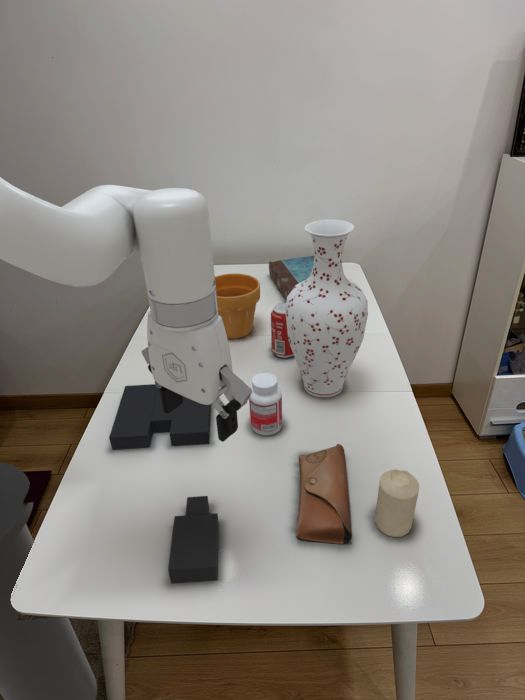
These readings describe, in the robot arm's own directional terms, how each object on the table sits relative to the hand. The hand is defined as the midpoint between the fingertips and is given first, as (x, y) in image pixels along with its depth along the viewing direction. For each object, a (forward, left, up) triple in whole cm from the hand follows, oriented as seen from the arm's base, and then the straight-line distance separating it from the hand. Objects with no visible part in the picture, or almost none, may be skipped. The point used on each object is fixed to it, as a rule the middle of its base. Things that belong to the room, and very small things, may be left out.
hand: (200, 420), depth 64 cm
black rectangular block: (-3, -3, -21) cm, 22 cm away
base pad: (-11, +27, -21) cm, 35 cm away
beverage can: (+15, +49, -21) cm, 55 cm away
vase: (+22, +35, -21) cm, 46 cm away
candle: (+27, -1, -21) cm, 35 cm away
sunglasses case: (+17, +5, -22) cm, 28 cm away
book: (+25, +85, -21) cm, 91 cm away
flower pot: (+3, +61, -21) cm, 64 cm away
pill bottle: (+9, +23, -22) cm, 33 cm away
